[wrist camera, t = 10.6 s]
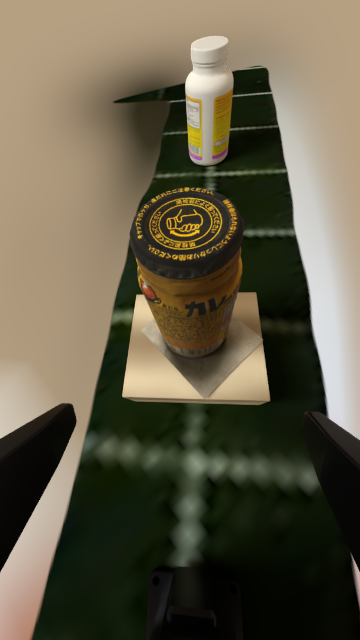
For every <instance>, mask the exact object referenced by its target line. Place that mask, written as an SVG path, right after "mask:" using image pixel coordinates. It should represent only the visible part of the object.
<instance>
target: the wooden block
mask: <svg viewBox="0 0 360 640" xmlns="http://www.w3.org/2000/svg"><path fill="white" fill-rule="evenodd" d="M232 314H233V315H234V316H236V317H237V318H238V319H239V320H240V321H241V322H243V323H244V324H246V325H247V326H248V327H249V328H250V329H251V330H253V331H254V332H255V333H256V334H258V335H259V336H260V337H261V338H262V334H261V327H260V319H259V311H258V304H257V296H256V293H237V298H236V301H235V304H234V309H233V312H232ZM153 319H154V317H153V314H152V312H151V310H150V308H149V305H148V303H147V301H146V299H145V297H144V295H137V296H136V303H135V310H134V317H133V324H132V331H131V338H130V345H129V352H128V360H127V367H126V374H125V381H124V388H123V395H122V397H124V398H127V399H130V400H133V401H145V402H178V403H211V404H244V405H260V404H263V403H266V402H269V401H270V395H269V387H268V380H267V372H266V364H265V357H264V349H263V342H261V343H260V344H259V345H258V346H257V347H256V348H255V349H254V350H253V351H252V352H251V353H250V354H249V355H248V356H247V357H246V358H245V359H244V360H243V361H242V362H241V363H240V364H239V365H238V366H237V367H236V368H235V369H234V370H233V371H232V372H231V373H230V374H229V375H228V376H227V377H226V378H225V379H224V380H223V381H222V382H221V383H220V384H219V385H218V386H217V387H216V388H215V389H214V390H213V391H212V392H211V393H210V394H209V395H208V396H207V397H206V398H205V399H204V398H203V397H202V396H201V395H200V394H199V393H198V392H197V391H196V390H195V388H194V387H193V386H192V385H191V384H190V383H189V382H188V381H187V380H186V379H185V378H184V377H183V376H182V374H181V373H180V372H179V371H178V370H177V369H176V368H175V367H174V366H173V365H172V364H171V363H170V361H169V360H168V359H167V358H166V357H165V356H164V355H163V354H162V353H161V352H160V351H159V349H158V348H157V347H156V346H155V345H154V344H153V343H152V342H151V341H150V340H149V339H148V337H147V336H146V335H145V334H144V333H143V332H142V331H141V329H142V328H143V327H145V326H146V325H147V324H148V323H149V322H151V321H152V320H153ZM227 337H228V336H227Z"/></svg>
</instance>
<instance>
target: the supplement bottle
mask: <svg viewBox="0 0 360 640" xmlns="http://www.w3.org/2000/svg"><path fill="white" fill-rule="evenodd" d="M228 44H229V43H228V39H227V38H225V37H222V36H209V37H204V38H201V39H198V40H196V41H194V42H193V43H192V44H191V60H192V63H193V71H192V72H191V73H190V74H189V75H188V77H187V80H186V85H185V88H186V106H187V124H188V141H189V154H190V158H191V160H192V161H193V162H194V163H196V164H198V165H203V166H209V165H215V164H217V163H219V162H221V161H222V160H224V158H225V157H226V155H227V152H228V142H229V130H230V118H231V105H232V92H233V75H232V72H231V71H230V69H229V68H227V67H226V59H227V55H228Z"/></svg>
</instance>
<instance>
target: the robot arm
mask: <svg viewBox="0 0 360 640" xmlns="http://www.w3.org/2000/svg"><path fill="white" fill-rule="evenodd" d="M75 426H76V416H75V412H74V408H73V405H72V404H69V403H62V404H60V405H58V406H56V407H54V408H52V409H51V410H49V411H47V412H46V413H44V414H42V415H41V416H39V417H37V418H35V419H34V420H32V421H30V422H29V423H27V424H25V425H23V426H22V427H20V428H18V429H16V430H15V431H13V432H11V433H9V434H8V435H6V436H5V437H3V438H1V439H0V572H1V570H2V568H3V566H4V564H5V563H6V561H7V559H8V557H9V555H10V553H11V551H12V550H13V548H14V546H15V544H16V542H17V540H18V539H19V537H20V535H21V533H22V531H23V529H24V527H25V526H26V524H27V522H28V520H29V518H30V517H31V515H32V513H33V511H34V509H35V507H36V505H37V504H38V502H39V500H40V498H41V496H42V494H43V493H44V491H45V489H46V487H47V485H48V483H49V482H50V480H51V478H52V476H53V474H54V472H55V470H56V468H57V467H58V464H59V462H60V460H61V458H62V456H63V453H64V451H65V449H66V447H67V444H68V442H69V440H70V438H71V435H72V433H73V431H74V428H75ZM302 433H303V437H304V440H305V443H306V446H307V449H308V452H309V454H310V457H311V460H312V463H313V466H314V469H315V472H316V475H317V477H318V480H319V483H320V485H321V487H322V490H323V492H324V494H325V496H326V498H327V501H328V503H329V505H330V507H331V509H332V512H333V514H334V516H335V518H336V520H337V523H338V525H339V527H340V529H341V531H342V534H343V536H344V538H345V540H346V543H347V545H348V547H349V549H350V551H351V554H352V556H353V558H354V560H355V562H356V565H357V567H358V569H359V571H360V440H359V439H357V438H355V437H354V436H353V435H351V434H350V433H349V432H347V431H346V430H344V429H343V428H341V427H340V426H338V425H337V424H336V423H334V422H333V421H331V420H330V419H329V418H327V417H326V416H324V415H323V414H321V413H320V412H317V411H307V412H306V413H305V416H304V421H303V426H302ZM155 576H157V577H158V578H159V580H160V581H159V582H155V580H154V577H155ZM231 585H235V586H236V590H235V591H231V590H230V586H231ZM145 640H243V623H242V605H241V590H240V585H239V582H238V580H237V579H236V578H235V577H233V576H224V575H215V574H213V573H212V572H211V570H207V569H197V568H188V567H177V568H176V569H175V570H170V569H161V568H156V569H154V570H153V571H152V573H151V575H150V579H149V593H148V607H147V622H146V637H145Z"/></svg>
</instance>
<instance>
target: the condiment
mask: <svg viewBox="0 0 360 640" xmlns="http://www.w3.org/2000/svg"><path fill="white" fill-rule="evenodd" d="M243 232H244V221H243V219H242V217H241V215H240V213H239V211H238V210H237V208H236V206H235V204H234V203H233V202H231V201H230V200H229V199H227V198H226V197H225V196H223V195H221V194H218V193H216V192H213V191H211V190H207V189H202V188H180V189H175V190H172V191H168V192H165V193H162V194H160V195H157V196H156V197H155V198H153V199H151V200H150V201H149V202H148V203H146V204H143V205H142V208H141V210H140V211H139V212H138V213H137V214H136V216H135V217H134V220H133V223H132V228H131V230H130V239H131V247H132V250H133V252H134V254H135V256H136V261H137V264H138V281H139V286H140V288H141V290H142V292H143V294H144V297H145V299H146V301H147V303H148V305H149V308H150V310H151V312H152V314H153V317H154V319H153V320H152V321H151V322H149V323H148V324H147V325H146V326H145V327H143V328H142V329H141V331H142V332H143V333H144V334H145V335H146V336H147V337H148V339H149V340H150V341H151V342H152V343H153V344H154V345H155V346H156V347H157V348H158V349H159V351H160V352H161V353H162V354H163V355H164V356H165V357H166V358H167V359H168V360H169V361H170V363H171V364H172V365H173V366H174V367H175V368H176V369H177V370H178V371H179V372H180V373H181V374H182V376H183V377H184V378H185V379H186V380H187V381H188V382H189V383H190V384H191V385H192V386H193V387H194V388H195V390H196V391H197V392H198V393H199V394H200V395H201V396H202V397H203V398H204V399H205V398H206V397H207V396H208V395H209V394H210V393H211V392H212V391H213V390H214V389H215V388H216V387H217V386H218V385H219V384H220V383H221V382H222V381H223V380H224V379H225V378H226V377H227V376H228V375H229V374H230V373H231V372H232V371H233V370H234V369H235V368H236V367H237V366H238V365H239V364H240V363H241V362H242V361H243V360H244V359H245V358H246V357H247V356H248V355H249V354H250V353H251V352H252V351H253V350H254V349H255V348H256V347H257V346H258V345H259V344H260V343H261V342H262V341H263V339H262V338H261V337H260V336H259V335H258V334H256V333H255V332H254V331H253V330H251V329H250V328H249V327H248V326H247V325H246V324H244V323H243V322H241V321H240V320H239V319H238V318H237V317H236V316H234V315H233V314H232V312H233V309H234V304H235V301H236V298H237V293H238V290H239V285H240V282H241V276H242V261H241V257H240V254H241V244H242V243H241V242H242V239H243ZM227 336H228V337H227Z"/></svg>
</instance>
